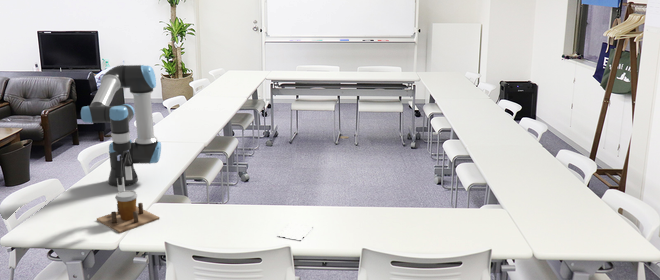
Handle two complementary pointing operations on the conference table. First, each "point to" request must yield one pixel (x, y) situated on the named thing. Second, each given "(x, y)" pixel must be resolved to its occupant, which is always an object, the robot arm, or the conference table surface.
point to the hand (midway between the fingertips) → (125, 185)
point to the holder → (124, 225)
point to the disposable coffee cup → (126, 204)
